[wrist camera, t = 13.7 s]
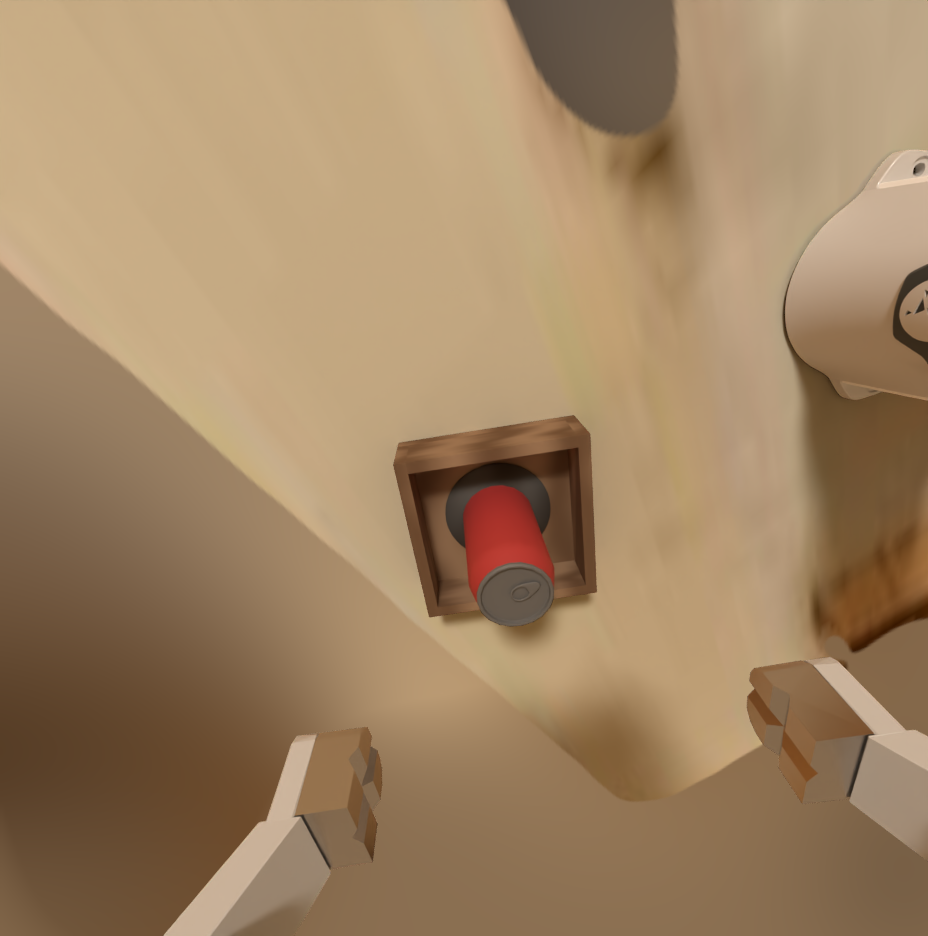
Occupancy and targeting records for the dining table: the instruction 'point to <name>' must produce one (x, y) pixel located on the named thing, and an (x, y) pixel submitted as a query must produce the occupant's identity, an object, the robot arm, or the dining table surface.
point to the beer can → (507, 557)
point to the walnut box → (492, 464)
